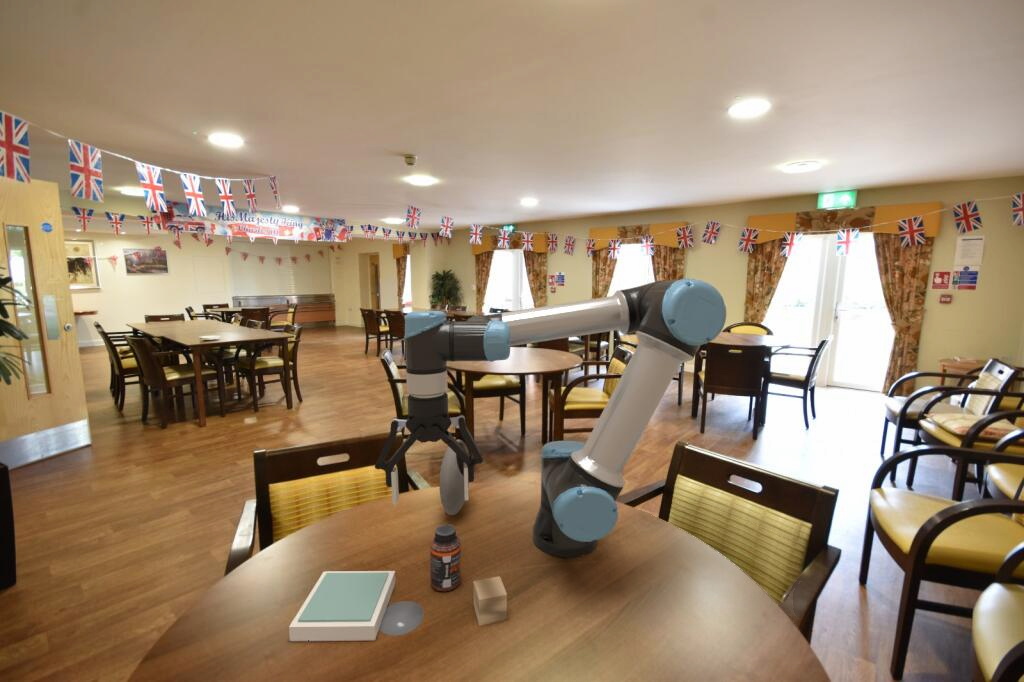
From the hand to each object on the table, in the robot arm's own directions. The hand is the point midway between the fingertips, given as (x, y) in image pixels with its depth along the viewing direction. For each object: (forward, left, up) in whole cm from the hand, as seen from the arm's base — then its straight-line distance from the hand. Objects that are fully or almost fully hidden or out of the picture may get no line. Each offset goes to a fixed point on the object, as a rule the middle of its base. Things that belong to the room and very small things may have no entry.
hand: (431, 499), depth 84 cm
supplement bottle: (-3, 0, -18) cm, 18 cm away
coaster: (+4, +9, -18) cm, 21 cm away
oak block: (-12, +8, -18) cm, 23 cm away
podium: (+14, +7, -17) cm, 24 cm away
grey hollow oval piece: (-2, -28, -18) cm, 33 cm away
